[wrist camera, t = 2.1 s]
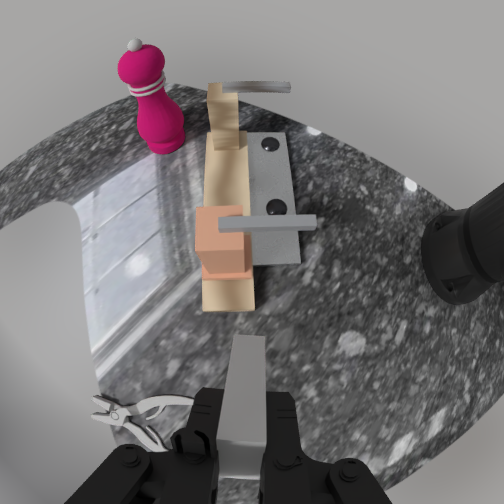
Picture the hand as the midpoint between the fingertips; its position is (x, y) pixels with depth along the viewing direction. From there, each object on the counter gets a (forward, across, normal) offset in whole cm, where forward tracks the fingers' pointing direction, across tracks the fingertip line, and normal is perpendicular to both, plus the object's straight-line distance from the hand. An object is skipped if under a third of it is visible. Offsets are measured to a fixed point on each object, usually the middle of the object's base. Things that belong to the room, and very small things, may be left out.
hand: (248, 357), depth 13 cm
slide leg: (+20, +1, 0) cm, 20 cm away
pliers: (+11, +13, +21) cm, 27 cm away
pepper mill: (+31, +16, -16) cm, 38 cm away
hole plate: (+27, -2, -8) cm, 28 cm away
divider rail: (+25, +2, -5) cm, 26 cm away
